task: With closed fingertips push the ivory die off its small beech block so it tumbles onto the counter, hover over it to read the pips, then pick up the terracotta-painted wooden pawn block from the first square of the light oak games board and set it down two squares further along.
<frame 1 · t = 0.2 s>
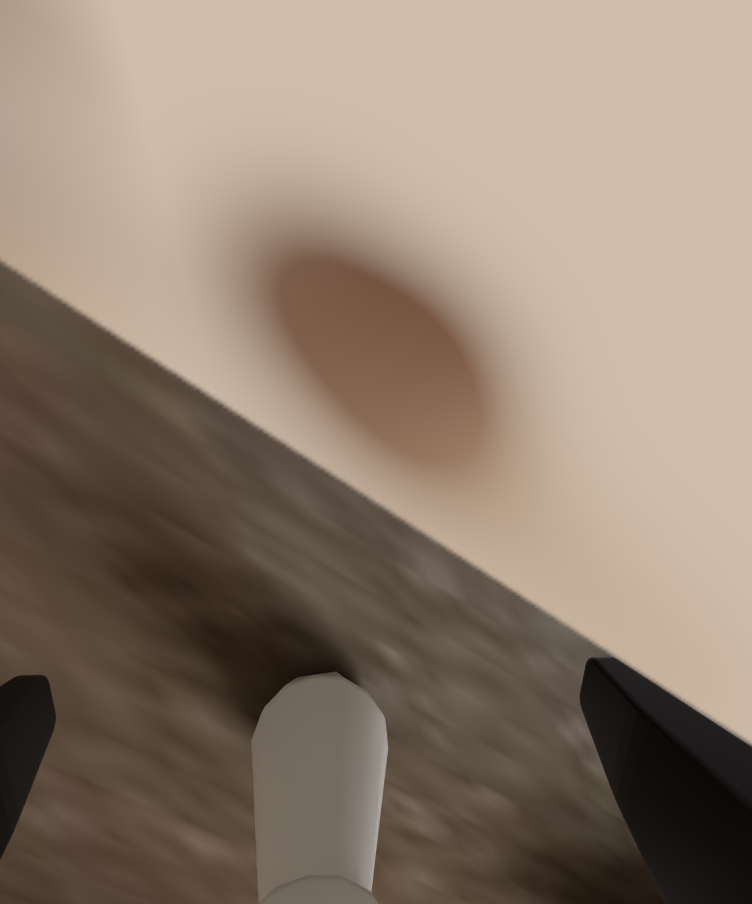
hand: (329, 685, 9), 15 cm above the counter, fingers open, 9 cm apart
salt shaker: (321, 708, 25), on the counter
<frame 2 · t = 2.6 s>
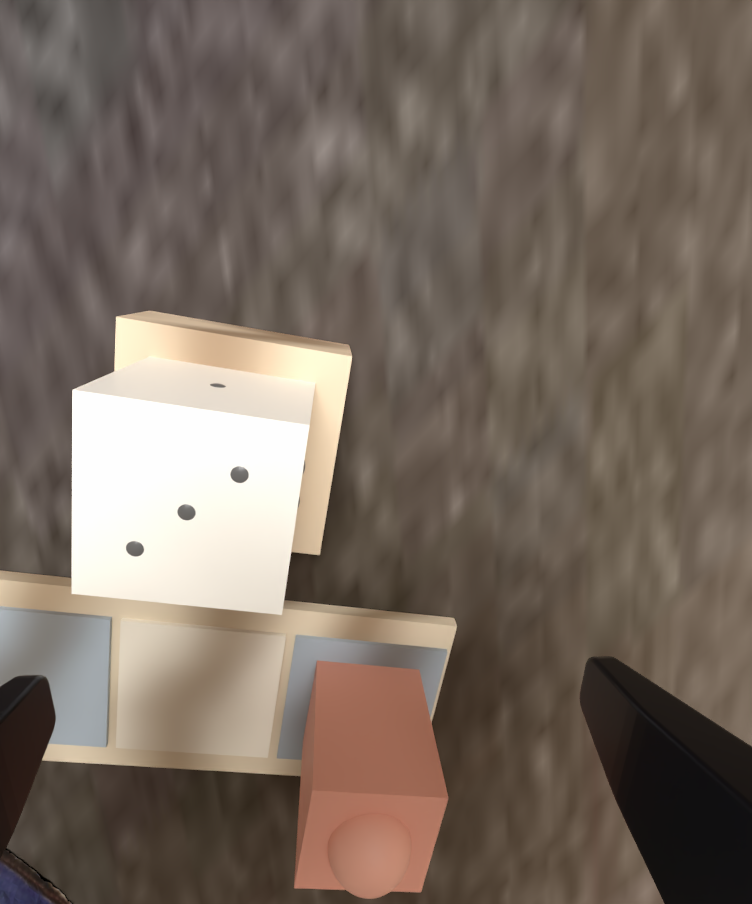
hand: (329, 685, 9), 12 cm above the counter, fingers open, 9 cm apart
block: (241, 422, 20), on the counter
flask: (22, 885, 26), on the counter
board: (203, 680, 23), on the counter
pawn: (360, 706, 23), point 1 cm above the counter, touching board
die: (226, 446, 17), point 3 cm above the counter, touching block
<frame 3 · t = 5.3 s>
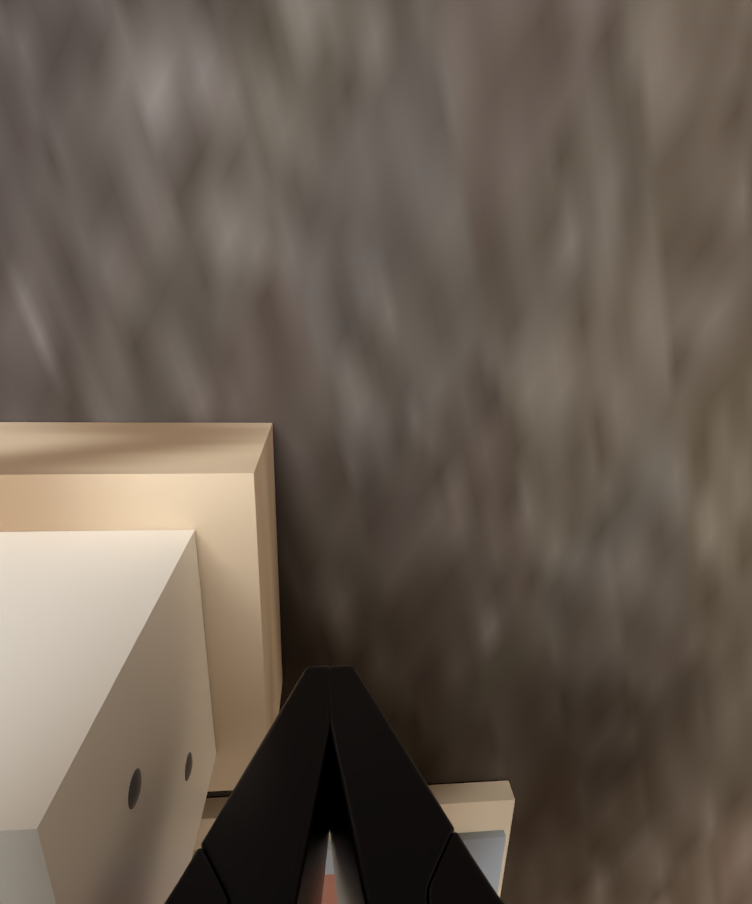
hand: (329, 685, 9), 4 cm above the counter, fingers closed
block: (126, 566, 12), on the counter
die: (63, 656, 9), point 3 cm above the counter, touching block, gripper
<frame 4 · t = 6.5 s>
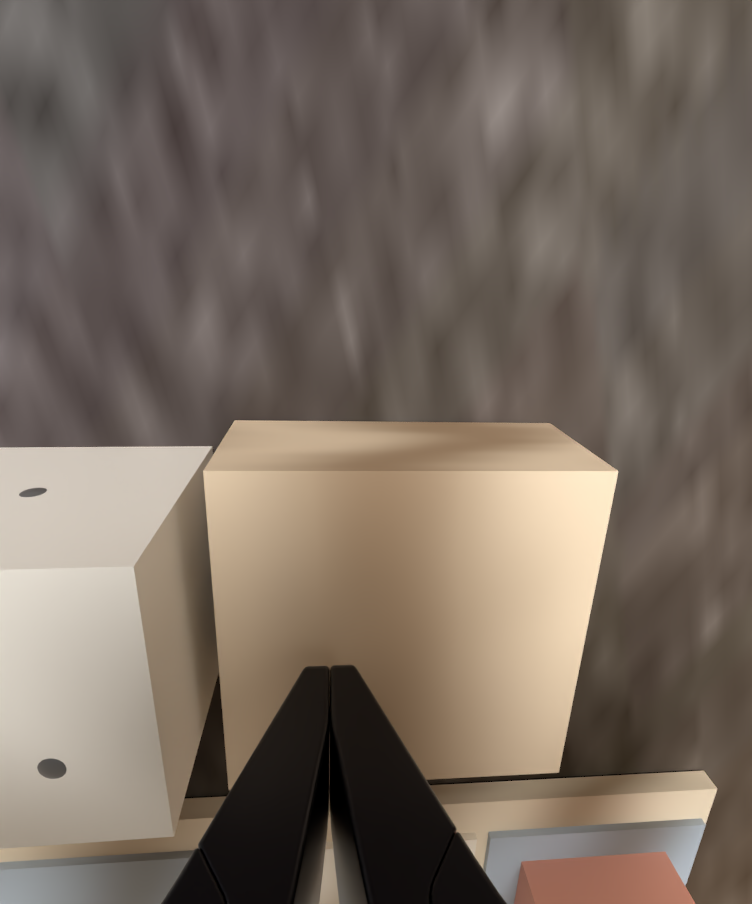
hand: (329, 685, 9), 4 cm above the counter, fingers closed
block: (389, 560, 13), on the counter
board: (358, 893, 17), on the counter
die: (196, 610, 10), point 2 cm above the counter, tilted 90°
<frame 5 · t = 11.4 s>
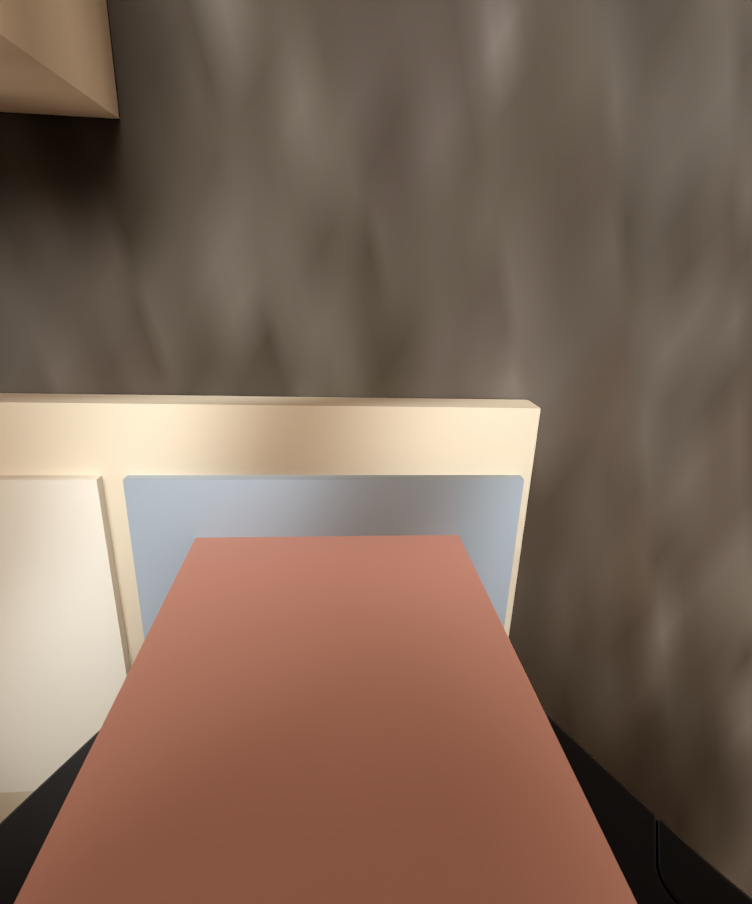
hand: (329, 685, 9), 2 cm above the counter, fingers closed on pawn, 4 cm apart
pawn: (329, 644, 10), point 1 cm above the counter, touching board, gripper
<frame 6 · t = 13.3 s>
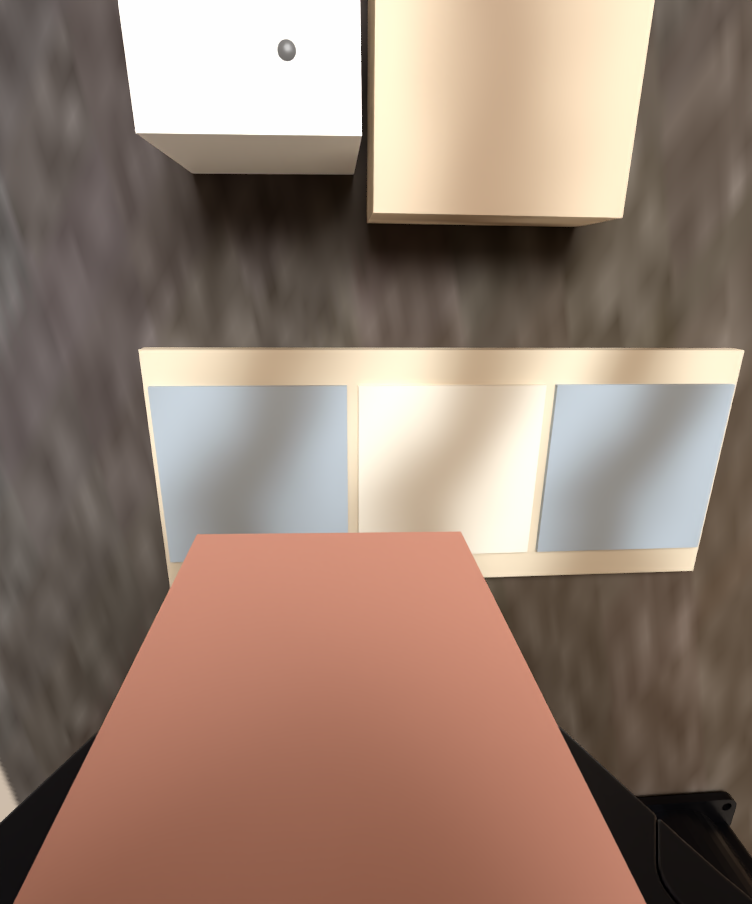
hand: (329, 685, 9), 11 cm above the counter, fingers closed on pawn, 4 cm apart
block: (480, 101, 16), on the counter
board: (444, 467, 20), on the counter
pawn: (331, 641, 10), point 10 cm above the counter, touching gripper
die: (355, 49, 13), point 2 cm above the counter, tilted 90°
when the fingers open (3 cm above the counter, at t = 15.4 s): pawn stays where it is, resting on board.
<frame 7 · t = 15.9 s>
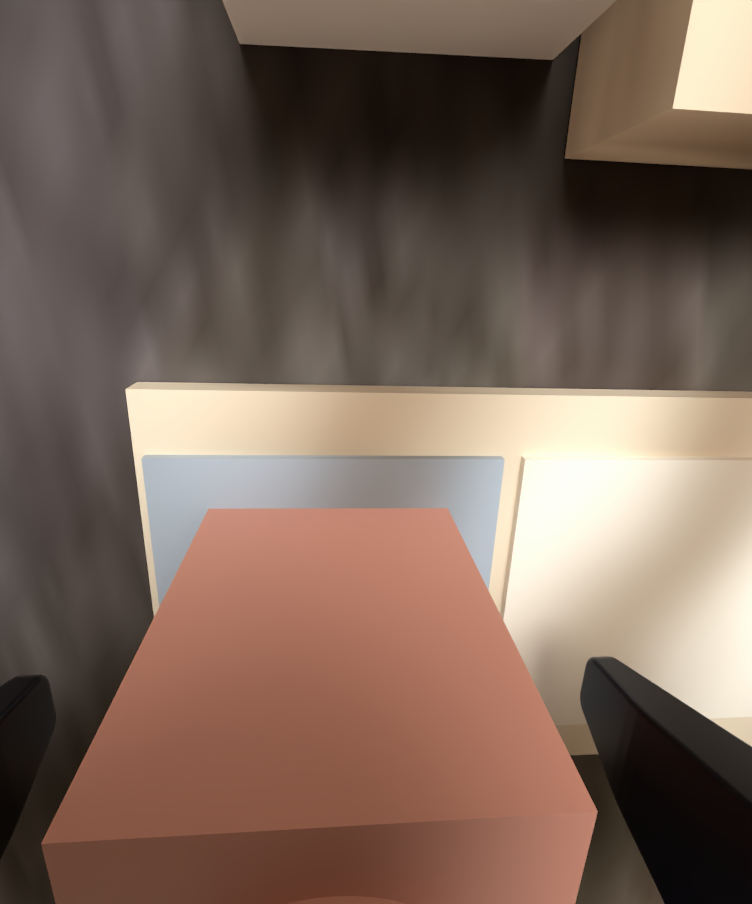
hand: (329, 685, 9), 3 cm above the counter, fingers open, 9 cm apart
board: (633, 582, 12), on the counter
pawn: (329, 609, 11), point 1 cm above the counter, touching board
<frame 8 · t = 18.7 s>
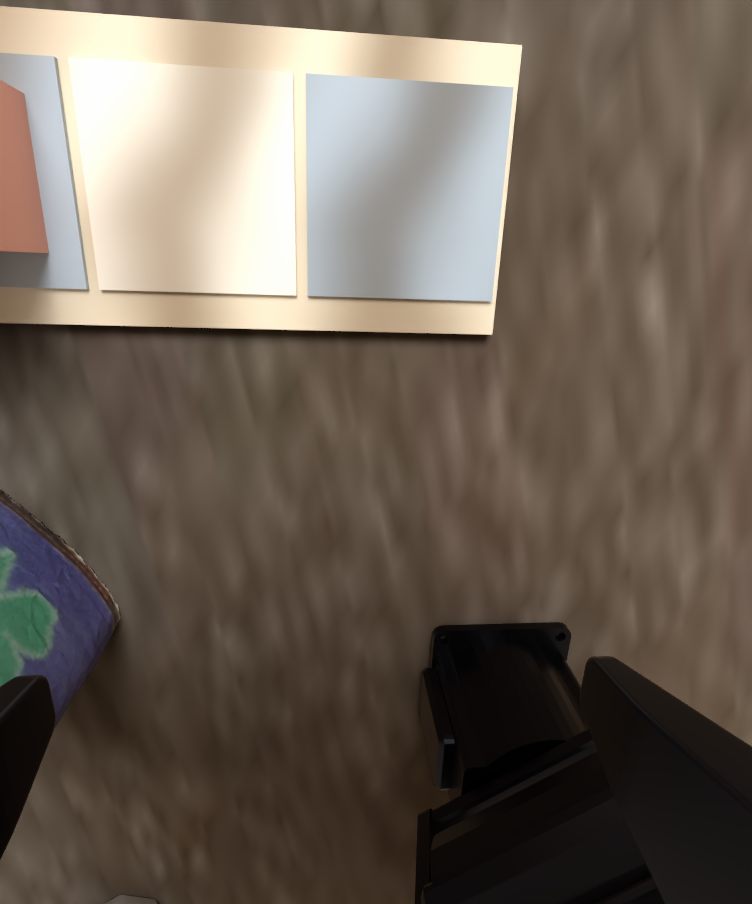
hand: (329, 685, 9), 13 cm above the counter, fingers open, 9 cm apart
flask: (29, 550, 22), on the counter
board: (197, 189, 18), on the counter
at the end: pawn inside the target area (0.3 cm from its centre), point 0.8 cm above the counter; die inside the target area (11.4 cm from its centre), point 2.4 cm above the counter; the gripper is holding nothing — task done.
